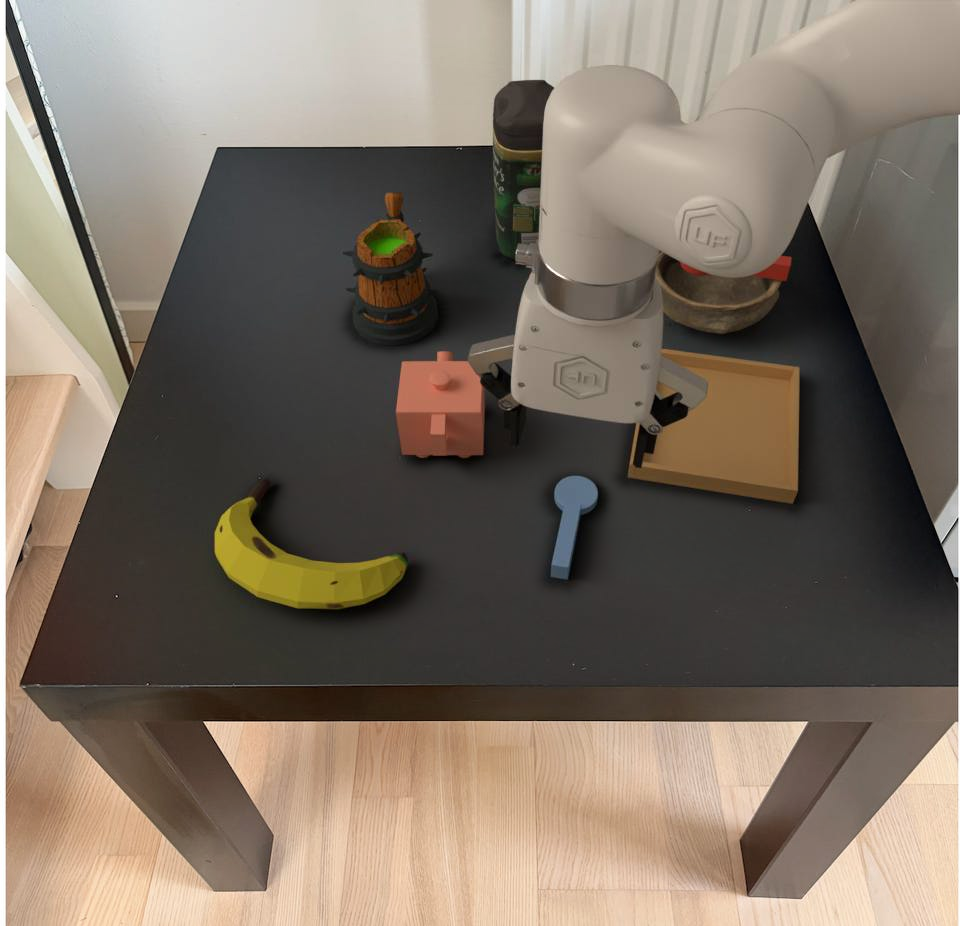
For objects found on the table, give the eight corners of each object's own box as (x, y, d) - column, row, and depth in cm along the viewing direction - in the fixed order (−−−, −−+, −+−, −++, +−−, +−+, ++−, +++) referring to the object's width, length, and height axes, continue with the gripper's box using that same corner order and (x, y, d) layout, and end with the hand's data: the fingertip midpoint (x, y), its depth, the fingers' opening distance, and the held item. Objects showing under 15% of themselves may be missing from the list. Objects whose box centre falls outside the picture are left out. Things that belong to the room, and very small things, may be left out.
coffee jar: (492, 217, 113) (489, 73, 98) (556, 214, 113) (562, 69, 98) (496, 267, 106) (494, 120, 92) (564, 263, 106) (571, 117, 92)
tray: (794, 380, 93) (799, 367, 92) (792, 504, 83) (798, 490, 82) (646, 360, 96) (649, 346, 94) (627, 477, 86) (629, 464, 84)
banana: (403, 591, 74) (415, 468, 85) (189, 583, 73) (230, 461, 85) (403, 626, 77) (415, 503, 88) (198, 619, 76) (236, 496, 88)
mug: (436, 348, 98) (429, 262, 89) (343, 346, 99) (326, 260, 90) (447, 272, 106) (441, 186, 97) (361, 270, 107) (347, 185, 98)
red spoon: (788, 265, 95) (792, 249, 93) (785, 289, 93) (789, 273, 91) (682, 249, 97) (685, 233, 96) (677, 272, 95) (680, 256, 93)
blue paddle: (581, 582, 79) (583, 570, 77) (536, 574, 79) (537, 561, 78) (600, 485, 85) (601, 471, 84) (558, 478, 86) (559, 464, 85)
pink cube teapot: (485, 388, 94) (483, 328, 88) (482, 478, 86) (480, 420, 80) (410, 388, 94) (403, 328, 88) (401, 478, 87) (392, 420, 80)
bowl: (649, 353, 97) (661, 278, 89) (642, 250, 108) (652, 177, 100) (781, 356, 96) (804, 282, 88) (760, 253, 107) (779, 178, 99)
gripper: (450, 289, 57) (459, 461, 70) (729, 329, 54) (684, 500, 68) (478, 218, 62) (482, 392, 75) (736, 252, 59) (693, 426, 72)
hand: (578, 443), depth 71 cm, fingers open, 9 cm apart
